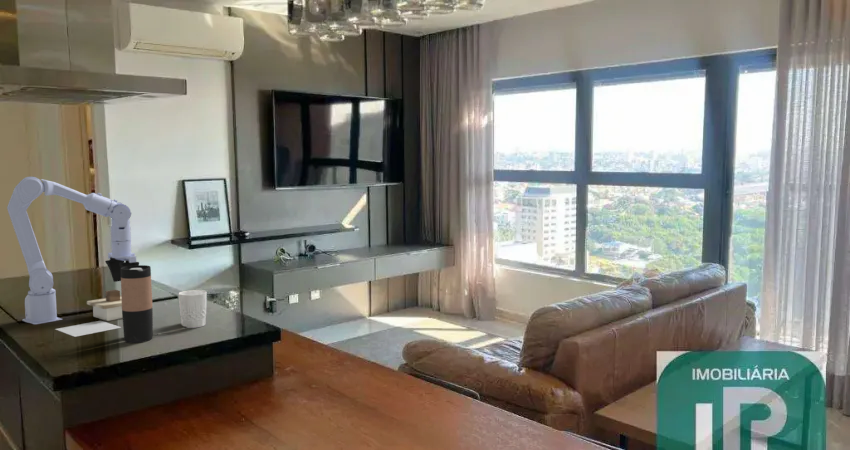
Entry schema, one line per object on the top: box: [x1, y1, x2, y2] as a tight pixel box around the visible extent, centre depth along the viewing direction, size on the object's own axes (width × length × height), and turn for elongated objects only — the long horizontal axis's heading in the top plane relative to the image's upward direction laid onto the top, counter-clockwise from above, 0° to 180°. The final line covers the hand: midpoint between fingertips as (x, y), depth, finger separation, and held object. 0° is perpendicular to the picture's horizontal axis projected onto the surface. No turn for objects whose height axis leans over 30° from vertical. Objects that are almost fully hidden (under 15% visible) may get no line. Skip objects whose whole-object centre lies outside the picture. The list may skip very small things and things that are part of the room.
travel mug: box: [120, 264, 154, 344], centre depth 174 cm, size 8×8×20 cm
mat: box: [54, 320, 123, 338], centre depth 185 cm, size 13×13×1 cm
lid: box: [86, 289, 122, 309], centre depth 199 cm, size 11×11×4 cm
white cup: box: [178, 289, 208, 329], centre depth 190 cm, size 8×8×10 cm
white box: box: [92, 306, 123, 322], centre depth 199 cm, size 9×9×4 cm
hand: (123, 282), depth 205 cm, fingers open, 7 cm apart
